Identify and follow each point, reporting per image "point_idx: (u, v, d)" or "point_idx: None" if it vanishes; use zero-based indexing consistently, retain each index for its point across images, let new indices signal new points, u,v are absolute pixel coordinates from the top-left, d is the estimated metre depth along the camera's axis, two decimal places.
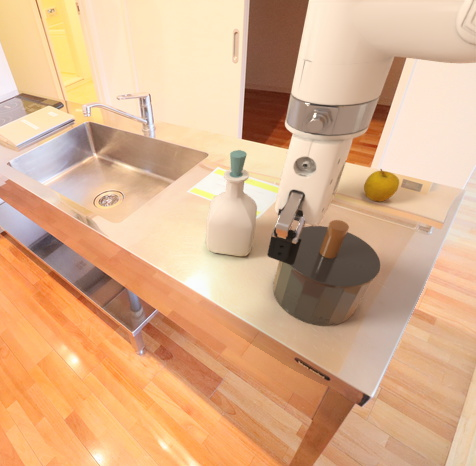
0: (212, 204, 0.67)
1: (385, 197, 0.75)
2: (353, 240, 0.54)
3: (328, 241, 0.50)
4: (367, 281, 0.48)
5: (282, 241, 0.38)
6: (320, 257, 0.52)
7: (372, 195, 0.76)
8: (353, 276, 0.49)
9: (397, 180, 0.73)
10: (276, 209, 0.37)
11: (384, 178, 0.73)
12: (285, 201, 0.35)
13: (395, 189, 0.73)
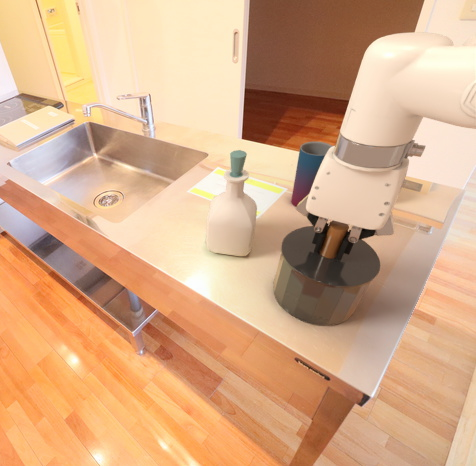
0: (212, 204, 0.67)
1: None
2: None
3: (328, 241, 0.50)
4: (367, 281, 0.48)
5: None
6: (320, 257, 0.52)
7: None
8: (353, 276, 0.49)
9: None
10: (382, 225, 0.43)
11: None
12: None
13: None
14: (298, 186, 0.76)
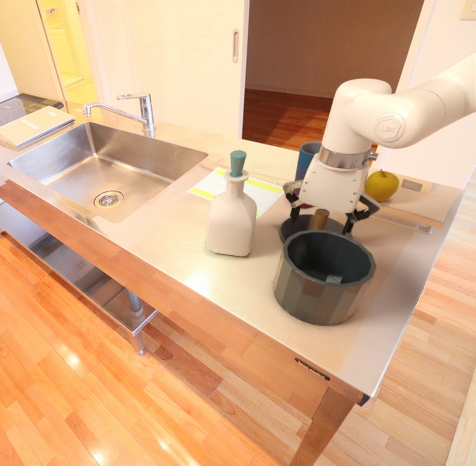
0: (212, 204, 0.67)
1: (385, 197, 0.75)
2: (334, 224, 0.72)
3: (314, 224, 0.68)
4: None
5: None
6: None
7: (372, 195, 0.76)
8: None
9: (397, 180, 0.73)
10: (352, 210, 0.61)
11: (384, 178, 0.73)
12: (358, 201, 0.60)
13: (395, 189, 0.73)
14: None
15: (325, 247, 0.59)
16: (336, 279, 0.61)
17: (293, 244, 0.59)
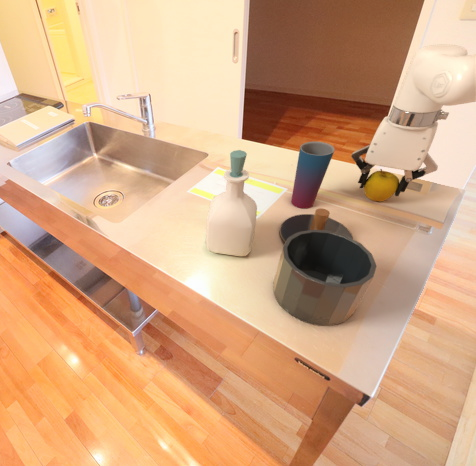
0: (212, 204, 0.67)
1: (385, 197, 0.75)
2: (334, 224, 0.72)
3: (314, 224, 0.68)
4: None
5: None
6: None
7: (372, 195, 0.76)
8: None
9: (397, 180, 0.73)
10: (419, 167, 0.68)
11: (384, 178, 0.73)
12: (422, 162, 0.68)
13: (395, 189, 0.73)
14: (298, 186, 0.76)
15: (325, 247, 0.59)
16: (336, 279, 0.61)
17: (293, 244, 0.59)
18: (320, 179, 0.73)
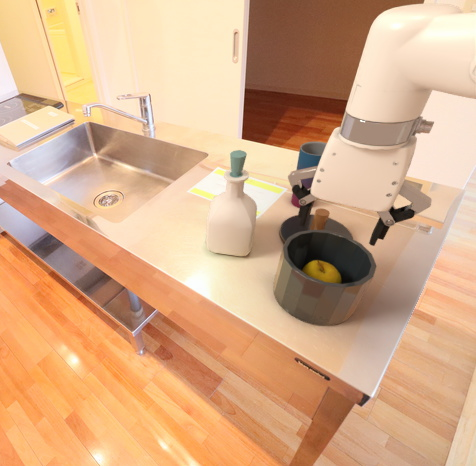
0: (212, 204, 0.67)
1: None
2: (334, 224, 0.72)
3: (314, 224, 0.68)
4: None
5: None
6: None
7: None
8: None
9: (338, 278, 0.54)
10: (389, 207, 0.43)
11: (321, 275, 0.54)
12: (397, 195, 0.42)
13: None
14: None
15: (325, 247, 0.59)
16: None
17: (293, 244, 0.59)
18: None
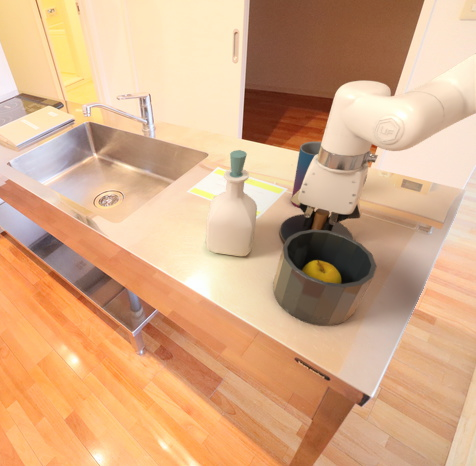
0: (212, 204, 0.67)
1: None
2: (334, 224, 0.72)
3: (314, 224, 0.68)
4: None
5: None
6: None
7: None
8: None
9: (338, 278, 0.54)
10: (352, 211, 0.61)
11: (321, 275, 0.54)
12: None
13: None
14: (298, 186, 0.76)
15: (325, 247, 0.59)
16: None
17: (293, 244, 0.59)
18: None
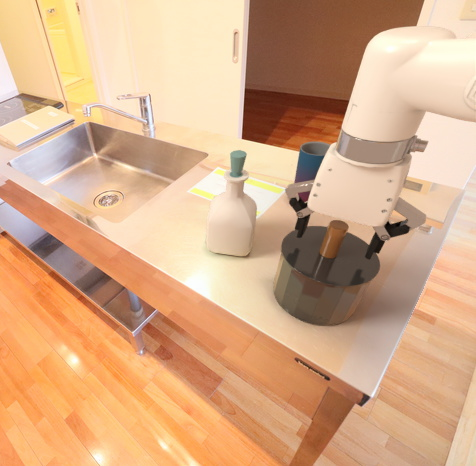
0: (212, 204, 0.67)
1: None
2: (352, 240, 0.54)
3: (327, 241, 0.50)
4: (367, 281, 0.48)
5: None
6: (320, 256, 0.52)
7: None
8: (353, 276, 0.49)
9: None
10: (385, 222, 0.43)
11: None
12: None
13: None
14: None
15: None
16: None
17: None
18: None
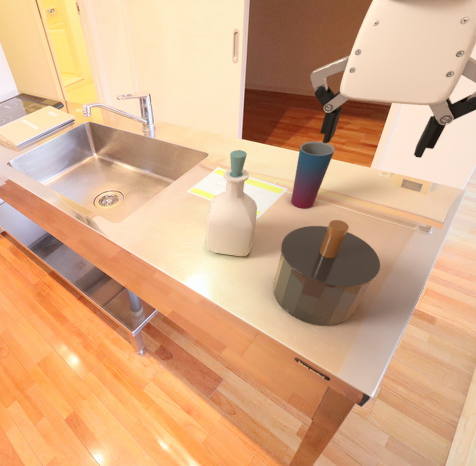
0: (212, 204, 0.67)
1: None
2: (352, 240, 0.54)
3: (327, 241, 0.50)
4: (367, 281, 0.48)
5: None
6: (320, 256, 0.52)
7: None
8: (353, 276, 0.49)
9: None
10: (448, 94, 0.32)
11: None
12: None
13: None
14: (298, 186, 0.76)
15: None
16: None
17: None
18: (320, 179, 0.73)
